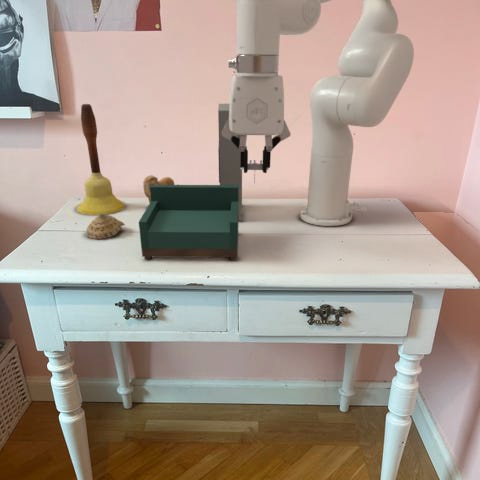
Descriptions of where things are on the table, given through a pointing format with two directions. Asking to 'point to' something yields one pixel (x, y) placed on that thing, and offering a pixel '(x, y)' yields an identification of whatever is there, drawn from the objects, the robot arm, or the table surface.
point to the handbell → (96, 173)
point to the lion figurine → (154, 181)
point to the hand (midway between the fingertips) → (255, 170)
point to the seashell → (103, 227)
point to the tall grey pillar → (229, 157)
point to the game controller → (254, 167)
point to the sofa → (191, 221)
